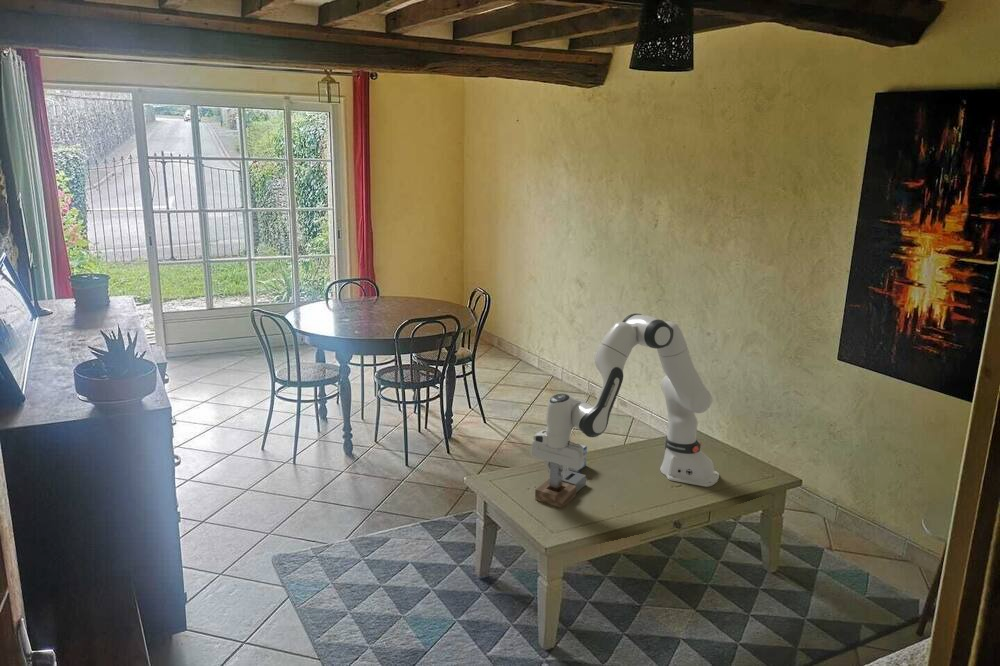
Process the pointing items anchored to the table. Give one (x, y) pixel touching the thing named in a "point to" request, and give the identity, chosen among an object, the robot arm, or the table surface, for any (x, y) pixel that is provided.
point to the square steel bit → (555, 475)
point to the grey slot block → (574, 479)
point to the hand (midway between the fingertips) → (556, 473)
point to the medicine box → (584, 459)
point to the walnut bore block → (555, 494)
